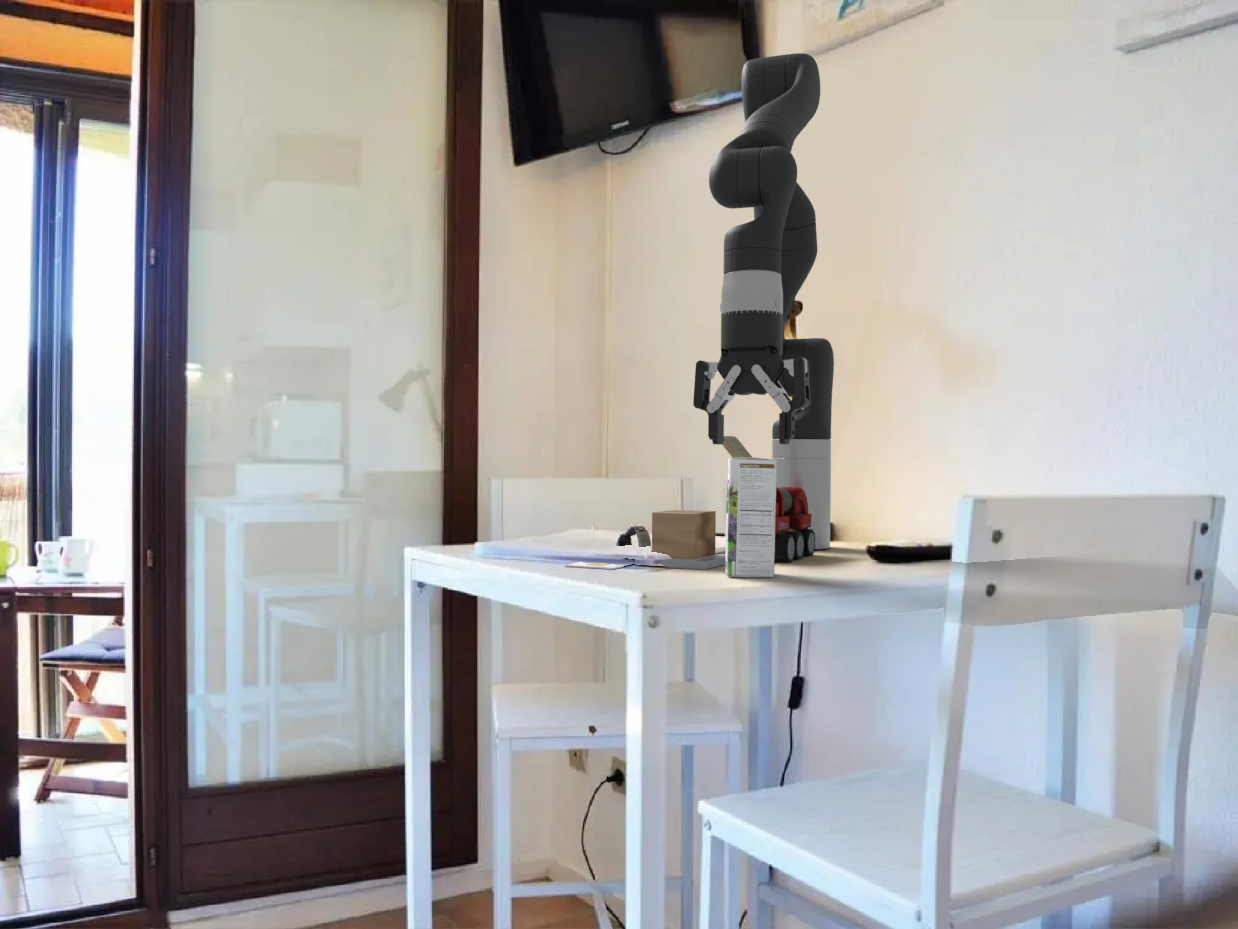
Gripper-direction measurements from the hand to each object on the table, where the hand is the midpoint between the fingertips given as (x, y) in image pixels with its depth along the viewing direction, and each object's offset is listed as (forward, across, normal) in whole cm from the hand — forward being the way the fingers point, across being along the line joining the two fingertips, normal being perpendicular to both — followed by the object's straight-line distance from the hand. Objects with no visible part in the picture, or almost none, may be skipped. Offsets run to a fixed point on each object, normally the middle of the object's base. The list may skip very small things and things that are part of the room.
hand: (750, 444), depth 128 cm
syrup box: (+16, 0, 0) cm, 16 cm away
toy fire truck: (+16, +6, -23) cm, 29 cm away
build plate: (+16, +12, -8) cm, 22 cm away
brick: (+15, +12, -8) cm, 21 cm away
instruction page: (+16, +21, -2) cm, 26 cm away
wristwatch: (+16, +21, -11) cm, 29 cm away
